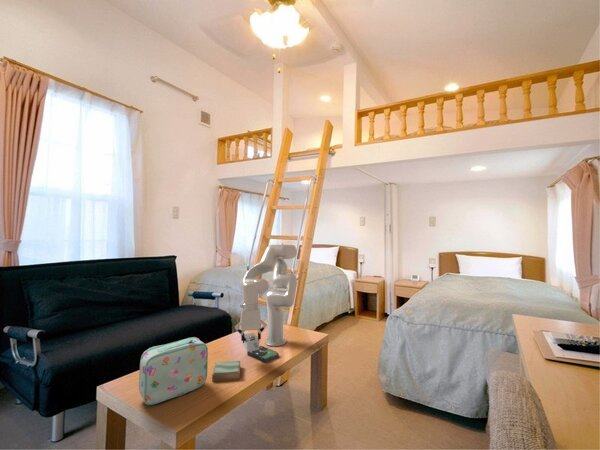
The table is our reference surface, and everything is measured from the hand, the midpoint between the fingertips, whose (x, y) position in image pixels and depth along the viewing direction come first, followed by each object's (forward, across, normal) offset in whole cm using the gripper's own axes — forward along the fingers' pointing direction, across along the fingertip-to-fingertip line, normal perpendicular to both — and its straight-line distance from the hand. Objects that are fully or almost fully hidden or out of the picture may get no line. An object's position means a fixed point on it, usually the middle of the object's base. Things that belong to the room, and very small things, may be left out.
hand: (251, 341), depth 145 cm
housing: (+3, 0, +1) cm, 3 cm away
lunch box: (+11, -32, -20) cm, 39 cm away
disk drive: (+13, +6, +9) cm, 17 cm away
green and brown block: (+11, -12, -8) cm, 18 cm away
